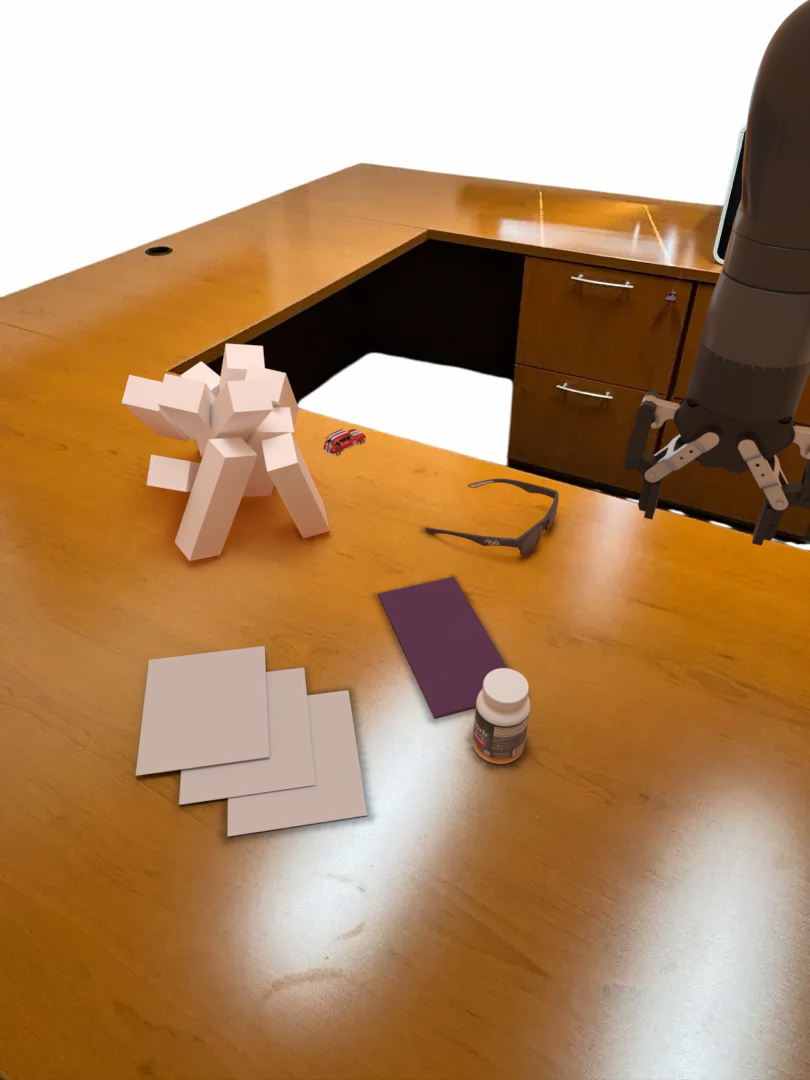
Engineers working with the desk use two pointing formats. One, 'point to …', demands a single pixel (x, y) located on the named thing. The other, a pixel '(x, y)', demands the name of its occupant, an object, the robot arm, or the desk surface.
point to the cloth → (442, 643)
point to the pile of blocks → (227, 445)
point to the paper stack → (251, 740)
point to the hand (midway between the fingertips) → (702, 526)
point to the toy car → (343, 441)
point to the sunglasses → (526, 540)
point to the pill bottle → (501, 716)
